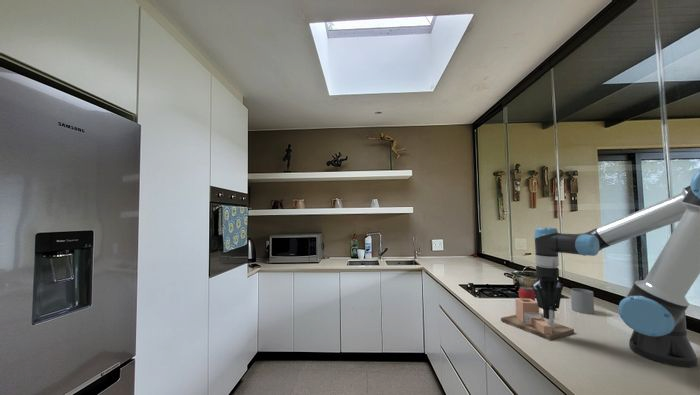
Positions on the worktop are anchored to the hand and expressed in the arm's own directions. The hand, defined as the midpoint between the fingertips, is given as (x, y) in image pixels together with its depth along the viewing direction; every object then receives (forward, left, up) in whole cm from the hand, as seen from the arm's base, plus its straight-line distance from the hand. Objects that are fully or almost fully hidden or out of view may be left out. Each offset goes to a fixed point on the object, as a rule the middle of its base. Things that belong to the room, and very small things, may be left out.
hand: (549, 326), depth 108 cm
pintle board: (+7, -2, -3) cm, 8 cm away
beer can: (+19, -15, -3) cm, 25 cm away
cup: (+10, -43, -3) cm, 45 cm away
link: (+6, 0, -2) cm, 6 cm away
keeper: (+5, +2, -3) cm, 6 cm away
